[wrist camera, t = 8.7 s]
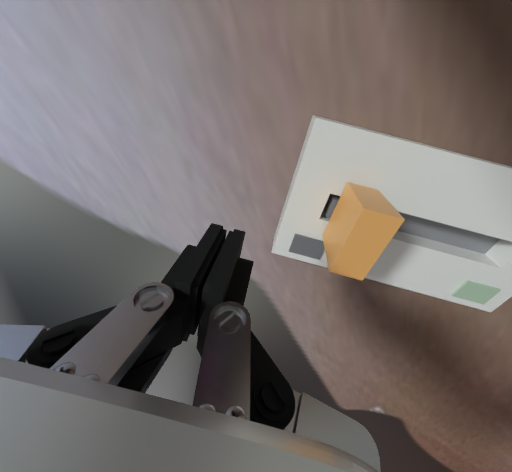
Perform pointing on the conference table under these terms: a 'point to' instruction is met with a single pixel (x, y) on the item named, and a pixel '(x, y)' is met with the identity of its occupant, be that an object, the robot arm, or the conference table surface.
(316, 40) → the conference table surface
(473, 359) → the conference table surface
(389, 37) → the conference table surface
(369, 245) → the orange slider handle
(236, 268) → the robot arm
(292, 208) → the slider switch
